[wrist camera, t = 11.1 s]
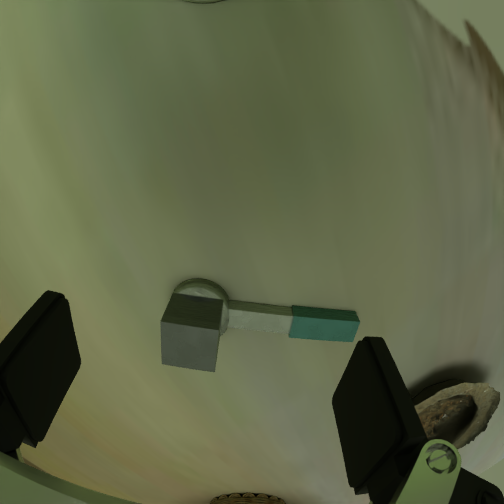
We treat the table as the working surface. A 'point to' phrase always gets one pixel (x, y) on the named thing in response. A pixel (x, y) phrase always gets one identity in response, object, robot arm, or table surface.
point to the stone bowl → (456, 410)
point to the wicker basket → (247, 499)
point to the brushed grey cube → (191, 332)
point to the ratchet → (277, 315)
